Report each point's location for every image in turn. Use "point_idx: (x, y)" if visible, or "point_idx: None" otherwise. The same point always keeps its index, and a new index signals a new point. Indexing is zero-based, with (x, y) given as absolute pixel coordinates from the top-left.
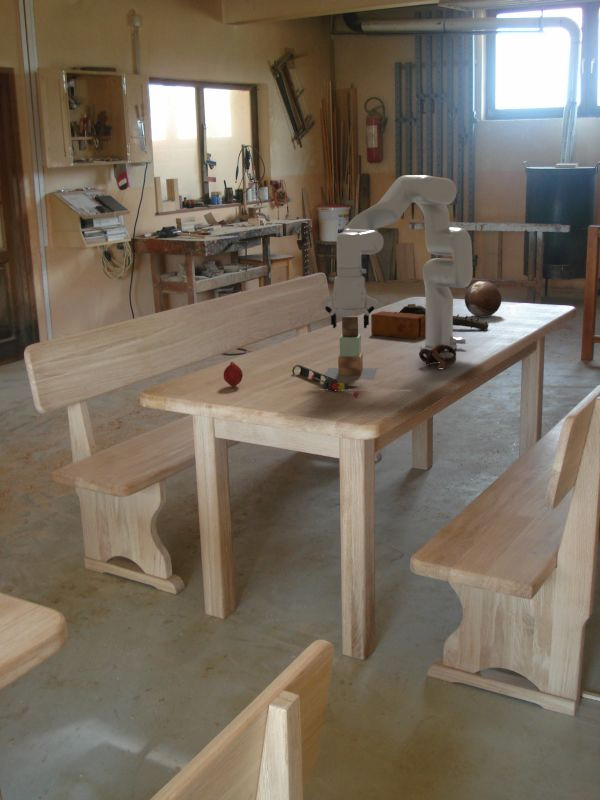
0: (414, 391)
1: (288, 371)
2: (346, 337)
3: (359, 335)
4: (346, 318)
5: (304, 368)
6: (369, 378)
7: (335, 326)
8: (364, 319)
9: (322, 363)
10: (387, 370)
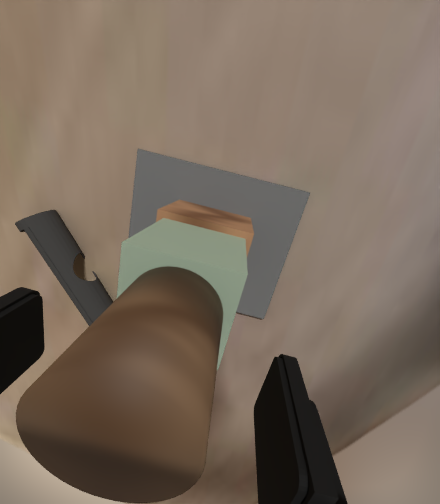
0: (327, 424)
1: (10, 160)
2: None
3: (231, 316)
4: (77, 487)
5: (53, 234)
6: (251, 315)
7: (36, 356)
8: (265, 498)
9: (113, 33)
10: (337, 214)
